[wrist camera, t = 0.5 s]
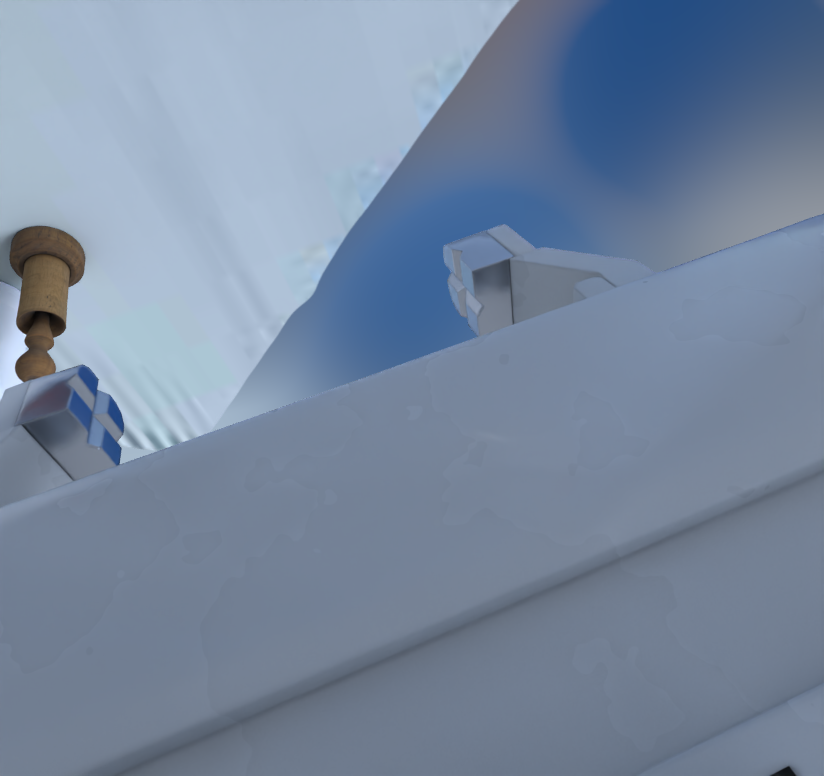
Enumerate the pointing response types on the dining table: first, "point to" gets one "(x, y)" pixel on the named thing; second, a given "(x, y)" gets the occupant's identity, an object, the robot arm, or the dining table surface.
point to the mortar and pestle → (43, 292)
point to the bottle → (9, 337)
